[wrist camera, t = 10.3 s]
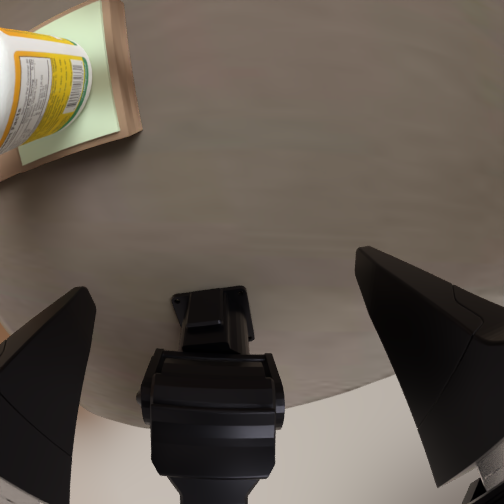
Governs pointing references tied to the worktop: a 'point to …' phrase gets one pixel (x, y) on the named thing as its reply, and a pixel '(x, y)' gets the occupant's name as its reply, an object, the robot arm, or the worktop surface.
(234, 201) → the worktop surface
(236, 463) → the robot arm
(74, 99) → the supplement bottle
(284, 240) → the worktop surface
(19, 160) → the step stand
